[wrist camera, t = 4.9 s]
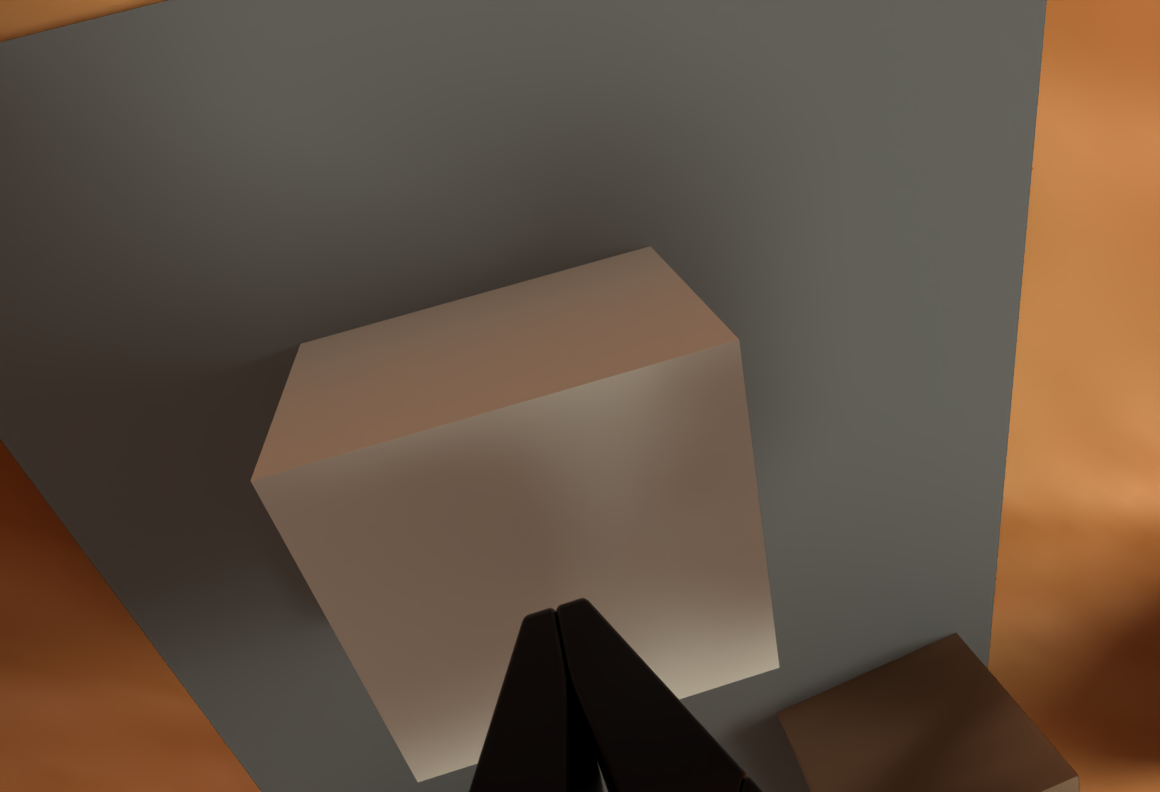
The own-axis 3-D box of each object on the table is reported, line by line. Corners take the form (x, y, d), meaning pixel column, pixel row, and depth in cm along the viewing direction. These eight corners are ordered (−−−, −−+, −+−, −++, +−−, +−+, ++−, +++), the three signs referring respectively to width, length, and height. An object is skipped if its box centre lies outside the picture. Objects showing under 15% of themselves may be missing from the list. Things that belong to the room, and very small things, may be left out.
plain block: (650, 246, 12) (738, 338, 9) (698, 517, 15) (779, 667, 12) (300, 344, 12) (250, 481, 9) (419, 602, 15) (418, 782, 11)
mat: (1045, -217, 11) (1066, -224, 10) (966, 805, 23) (974, 816, 23) (-224, 100, 10) (-248, 104, 9) (418, 987, 22) (418, 1003, 22)
